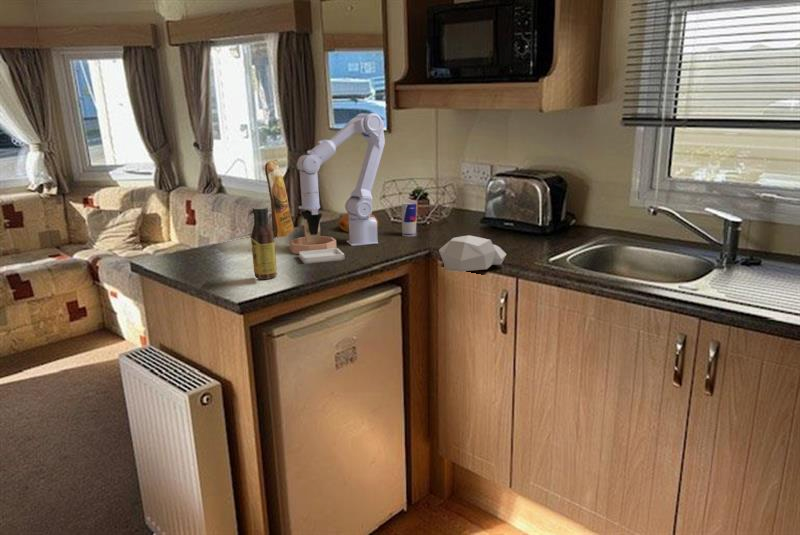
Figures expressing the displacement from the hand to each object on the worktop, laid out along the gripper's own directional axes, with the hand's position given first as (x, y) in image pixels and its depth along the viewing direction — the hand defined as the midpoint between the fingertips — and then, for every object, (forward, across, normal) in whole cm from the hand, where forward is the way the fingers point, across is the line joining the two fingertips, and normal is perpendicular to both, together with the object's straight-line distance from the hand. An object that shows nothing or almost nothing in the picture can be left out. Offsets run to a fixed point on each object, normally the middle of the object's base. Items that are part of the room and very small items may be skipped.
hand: (312, 233), depth 200 cm
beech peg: (+2, 0, 0) cm, 2 cm away
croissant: (+6, -25, +22) cm, 34 cm away
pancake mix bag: (+6, -29, -7) cm, 30 cm away
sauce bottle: (+6, +30, -19) cm, 36 cm away
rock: (+6, +42, +39) cm, 57 cm away
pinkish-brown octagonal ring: (+6, 0, 0) cm, 6 cm away
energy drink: (+6, -8, +37) cm, 38 cm away
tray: (+6, +14, 0) cm, 15 cm away
